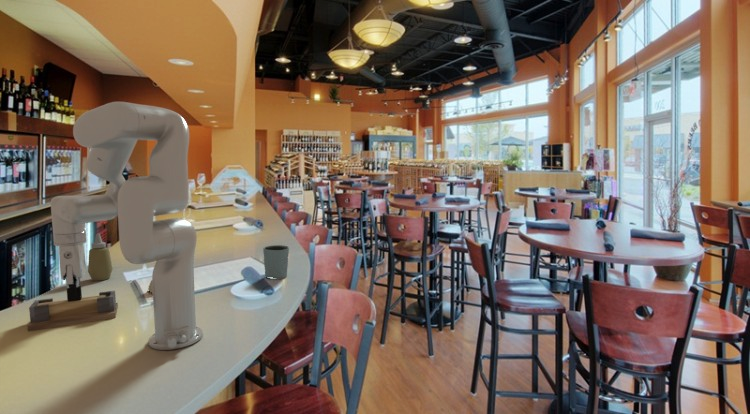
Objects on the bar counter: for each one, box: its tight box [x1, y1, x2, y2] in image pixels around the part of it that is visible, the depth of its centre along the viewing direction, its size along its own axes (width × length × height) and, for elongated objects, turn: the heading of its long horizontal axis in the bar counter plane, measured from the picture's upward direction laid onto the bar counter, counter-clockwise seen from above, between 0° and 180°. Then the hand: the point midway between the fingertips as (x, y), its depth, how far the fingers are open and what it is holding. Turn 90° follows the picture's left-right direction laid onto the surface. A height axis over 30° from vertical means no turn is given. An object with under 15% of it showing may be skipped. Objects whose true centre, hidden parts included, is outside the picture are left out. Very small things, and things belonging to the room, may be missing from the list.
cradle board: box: [27, 290, 119, 332], centre depth 117 cm, size 10×20×6 cm, turn 119°
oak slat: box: [37, 295, 106, 319], centre depth 117 cm, size 3×16×4 cm, turn 119°
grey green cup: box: [262, 244, 290, 280], centre depth 162 cm, size 10×10×12 cm
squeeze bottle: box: [87, 233, 114, 282], centre depth 157 cm, size 8×8×18 cm
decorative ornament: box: [147, 279, 153, 294], centre depth 141 cm, size 4×8×5 cm, turn 45°
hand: (74, 300), depth 117 cm, fingers closed
